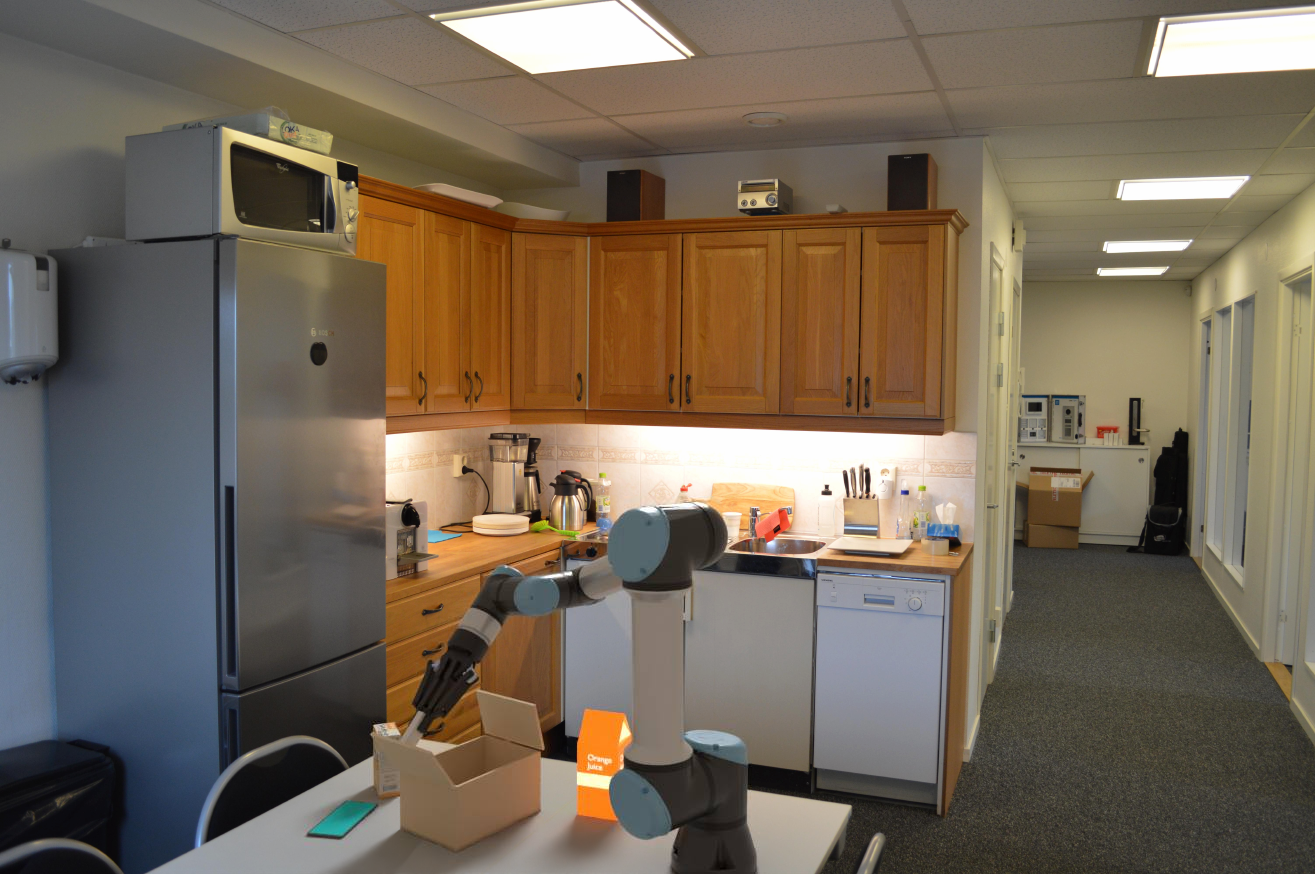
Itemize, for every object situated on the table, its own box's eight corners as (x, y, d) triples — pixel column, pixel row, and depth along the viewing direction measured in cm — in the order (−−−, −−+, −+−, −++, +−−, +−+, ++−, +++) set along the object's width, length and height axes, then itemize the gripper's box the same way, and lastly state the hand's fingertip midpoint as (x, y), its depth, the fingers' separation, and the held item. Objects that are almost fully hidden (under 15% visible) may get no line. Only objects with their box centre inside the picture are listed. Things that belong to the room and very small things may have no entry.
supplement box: (372, 784, 199) (372, 724, 199) (395, 781, 201) (395, 721, 201) (378, 799, 192) (377, 736, 191) (402, 795, 194) (401, 733, 193)
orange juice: (617, 820, 182) (618, 719, 181) (576, 814, 185) (576, 714, 184) (631, 804, 189) (632, 707, 189) (591, 798, 192) (592, 703, 192)
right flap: (542, 750, 186) (544, 748, 187) (533, 705, 184) (535, 704, 184) (485, 732, 196) (487, 731, 197) (475, 690, 194) (477, 689, 194)
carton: (540, 810, 187) (540, 751, 186) (456, 852, 169) (456, 787, 169) (485, 790, 196) (485, 734, 196) (400, 828, 178) (399, 766, 178)
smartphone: (306, 833, 175) (345, 800, 190) (306, 837, 175) (345, 804, 190) (342, 836, 174) (379, 803, 189) (342, 841, 174) (379, 807, 189)
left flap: (431, 751, 163) (429, 754, 163) (456, 787, 168) (454, 789, 168) (372, 731, 173) (370, 734, 173) (397, 766, 178) (395, 768, 178)
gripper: (506, 652, 181) (440, 764, 168) (461, 642, 188) (395, 748, 176) (486, 631, 176) (416, 744, 163) (440, 621, 184) (370, 729, 171)
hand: (405, 746), depth 170 cm, fingers closed
